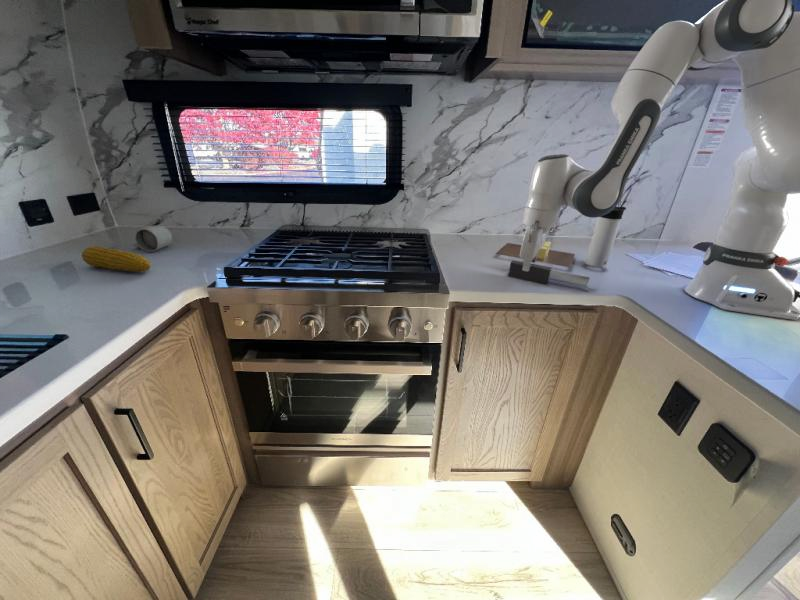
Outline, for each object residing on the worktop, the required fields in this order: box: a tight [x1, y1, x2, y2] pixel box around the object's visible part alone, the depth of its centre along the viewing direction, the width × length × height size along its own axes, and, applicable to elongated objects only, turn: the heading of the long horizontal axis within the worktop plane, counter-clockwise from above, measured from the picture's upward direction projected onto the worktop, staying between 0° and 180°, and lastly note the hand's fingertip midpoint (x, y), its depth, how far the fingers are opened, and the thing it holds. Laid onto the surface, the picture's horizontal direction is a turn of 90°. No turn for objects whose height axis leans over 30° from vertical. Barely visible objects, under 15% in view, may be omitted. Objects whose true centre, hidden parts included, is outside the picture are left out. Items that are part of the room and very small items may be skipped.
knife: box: [507, 259, 590, 292], centre depth 95 cm, size 21×3×4 cm, turn 60°
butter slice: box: [537, 246, 547, 259], centre depth 113 cm, size 5×3×4 cm, turn 60°
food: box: [81, 246, 151, 273], centre depth 93 cm, size 21×6×6 cm, turn 78°
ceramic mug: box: [134, 225, 173, 253], centre depth 111 cm, size 11×8×8 cm
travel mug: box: [584, 206, 627, 272], centre depth 105 cm, size 6×7×20 cm
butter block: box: [543, 240, 552, 255], centre depth 118 cm, size 5×7×4 cm
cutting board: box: [495, 242, 576, 268], centre depth 117 cm, size 24×17×2 cm
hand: (529, 265), depth 97 cm, fingers open, 8 cm apart
